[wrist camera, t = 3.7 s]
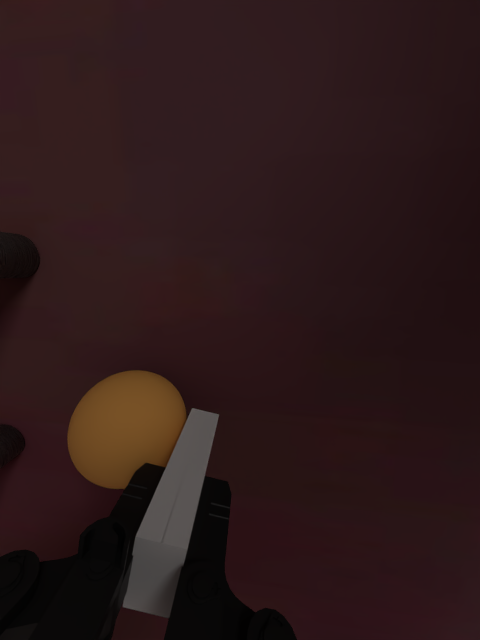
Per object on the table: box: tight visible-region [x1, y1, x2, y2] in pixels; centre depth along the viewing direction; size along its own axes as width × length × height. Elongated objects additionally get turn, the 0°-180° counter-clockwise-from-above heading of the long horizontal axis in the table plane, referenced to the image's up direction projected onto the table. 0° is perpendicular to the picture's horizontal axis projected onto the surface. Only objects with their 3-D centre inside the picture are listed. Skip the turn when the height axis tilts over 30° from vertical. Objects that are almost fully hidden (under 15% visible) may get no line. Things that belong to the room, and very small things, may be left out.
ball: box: [67, 370, 187, 489], centre depth 13 cm, size 6×6×6 cm
